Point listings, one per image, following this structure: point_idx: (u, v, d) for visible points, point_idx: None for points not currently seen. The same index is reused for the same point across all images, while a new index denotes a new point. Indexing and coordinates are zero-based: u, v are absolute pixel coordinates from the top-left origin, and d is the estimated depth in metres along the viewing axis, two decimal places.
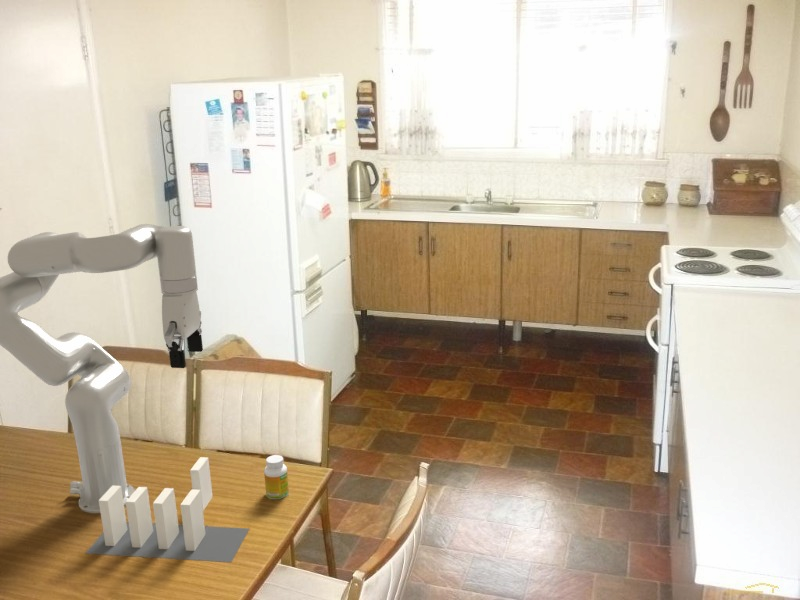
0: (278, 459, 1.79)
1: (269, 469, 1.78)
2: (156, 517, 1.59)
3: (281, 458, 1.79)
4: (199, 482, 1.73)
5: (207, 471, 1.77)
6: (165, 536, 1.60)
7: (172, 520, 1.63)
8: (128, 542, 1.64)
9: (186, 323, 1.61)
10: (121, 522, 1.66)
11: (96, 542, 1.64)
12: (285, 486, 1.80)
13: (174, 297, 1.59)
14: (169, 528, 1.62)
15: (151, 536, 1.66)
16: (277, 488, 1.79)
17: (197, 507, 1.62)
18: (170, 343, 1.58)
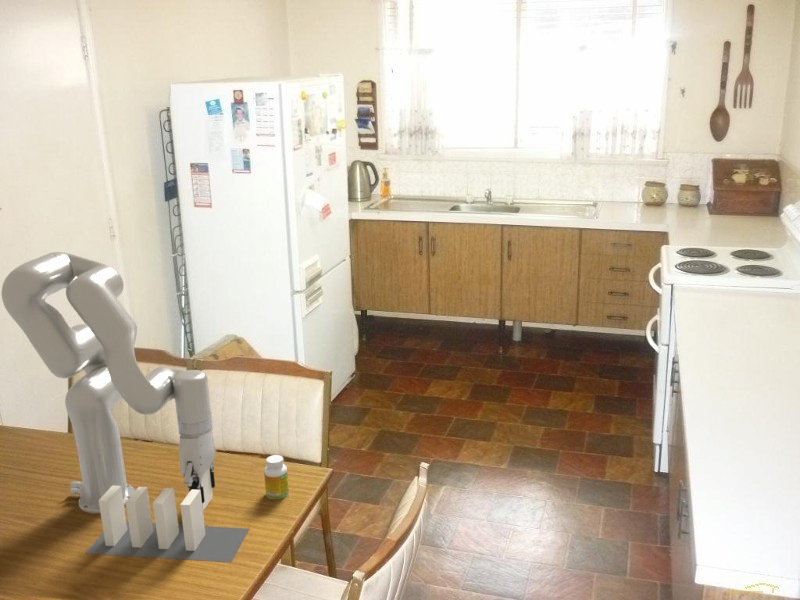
0: (278, 459, 1.79)
1: (269, 469, 1.78)
2: (156, 517, 1.59)
3: (281, 458, 1.79)
4: None
5: (207, 471, 1.77)
6: (165, 536, 1.60)
7: (172, 520, 1.63)
8: (128, 542, 1.64)
9: (202, 462, 1.71)
10: (121, 522, 1.66)
11: (96, 542, 1.64)
12: (285, 486, 1.80)
13: (191, 439, 1.69)
14: (169, 528, 1.62)
15: (151, 536, 1.66)
16: (277, 488, 1.79)
17: (197, 507, 1.62)
18: (190, 485, 1.69)
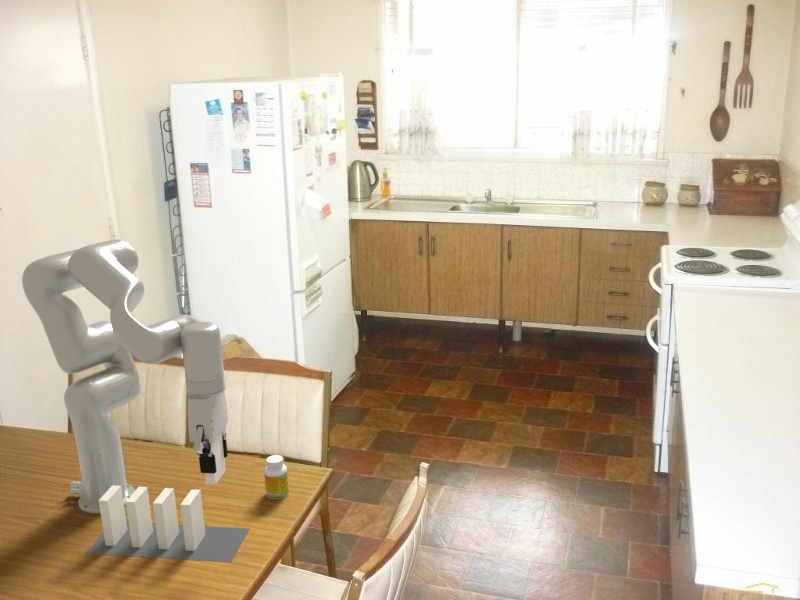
0: (278, 459, 1.79)
1: (269, 469, 1.78)
2: (156, 517, 1.59)
3: (281, 458, 1.79)
4: None
5: (219, 437, 1.57)
6: (165, 536, 1.60)
7: (172, 520, 1.63)
8: (128, 542, 1.64)
9: (214, 426, 1.51)
10: (121, 522, 1.66)
11: (96, 542, 1.64)
12: (285, 486, 1.80)
13: (201, 400, 1.48)
14: (169, 528, 1.62)
15: (151, 536, 1.66)
16: (277, 488, 1.79)
17: (197, 507, 1.62)
18: (201, 452, 1.49)
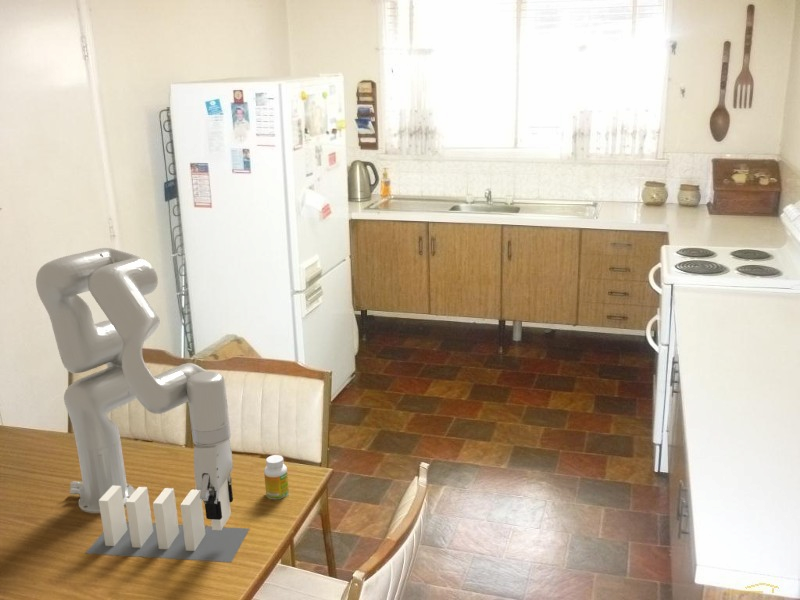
0: (278, 459, 1.79)
1: (269, 469, 1.78)
2: (156, 517, 1.59)
3: (281, 458, 1.79)
4: None
5: (224, 483, 1.60)
6: (165, 536, 1.60)
7: (172, 520, 1.63)
8: (128, 542, 1.64)
9: (219, 474, 1.54)
10: (121, 522, 1.66)
11: (96, 542, 1.64)
12: (285, 486, 1.80)
13: (207, 449, 1.51)
14: (169, 528, 1.62)
15: (151, 536, 1.66)
16: (277, 488, 1.79)
17: (197, 507, 1.62)
18: (206, 500, 1.52)
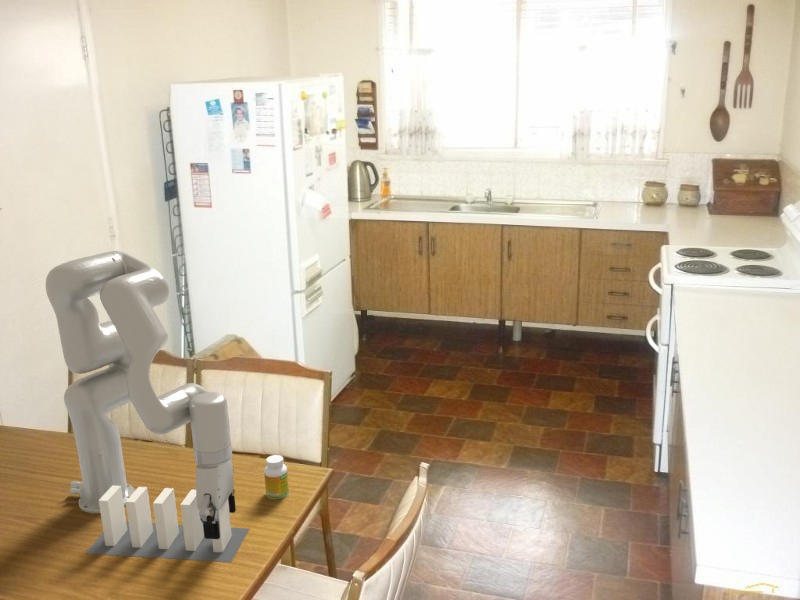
0: (278, 459, 1.79)
1: (269, 469, 1.78)
2: (156, 517, 1.59)
3: (281, 458, 1.79)
4: (218, 519, 1.58)
5: (226, 506, 1.62)
6: (165, 536, 1.60)
7: (172, 520, 1.63)
8: (128, 542, 1.64)
9: (221, 494, 1.55)
10: (121, 522, 1.66)
11: (96, 542, 1.64)
12: (285, 486, 1.80)
13: (209, 469, 1.53)
14: (169, 528, 1.62)
15: (151, 536, 1.66)
16: (277, 488, 1.79)
17: None
18: (205, 518, 1.52)
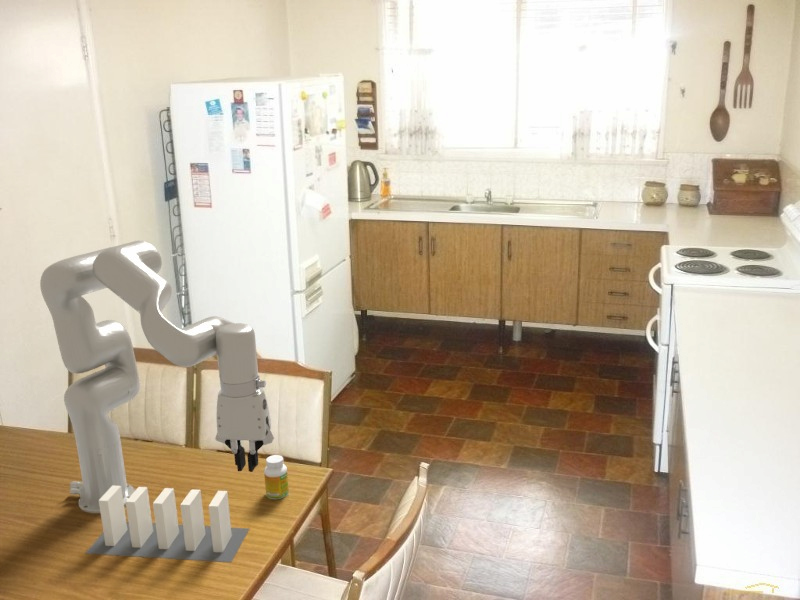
0: (278, 459, 1.79)
1: (269, 469, 1.78)
2: (156, 517, 1.59)
3: (281, 458, 1.79)
4: (218, 519, 1.58)
5: (226, 506, 1.62)
6: (165, 536, 1.60)
7: (172, 520, 1.63)
8: (128, 542, 1.64)
9: (222, 424, 1.52)
10: (121, 522, 1.66)
11: (96, 542, 1.64)
12: (285, 486, 1.80)
13: None
14: (169, 528, 1.62)
15: (151, 536, 1.66)
16: (277, 488, 1.79)
17: (197, 507, 1.62)
18: None
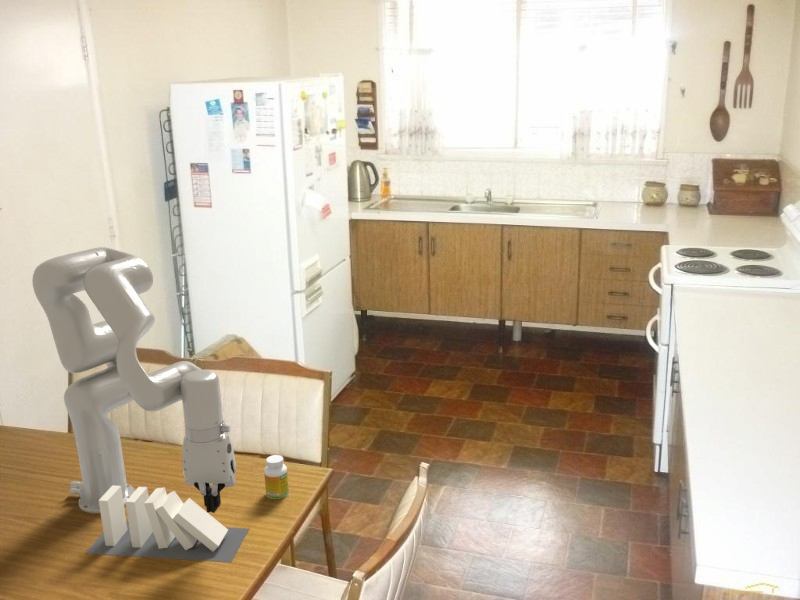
0: (278, 459, 1.79)
1: (269, 469, 1.78)
2: (150, 517, 1.59)
3: (281, 458, 1.79)
4: (189, 522, 1.59)
5: (196, 509, 1.63)
6: (162, 535, 1.60)
7: None
8: (128, 542, 1.64)
9: (188, 468, 1.56)
10: (121, 522, 1.66)
11: (96, 542, 1.64)
12: (285, 486, 1.80)
13: (184, 438, 1.56)
14: (165, 527, 1.62)
15: (151, 536, 1.66)
16: (277, 488, 1.79)
17: (178, 507, 1.62)
18: None
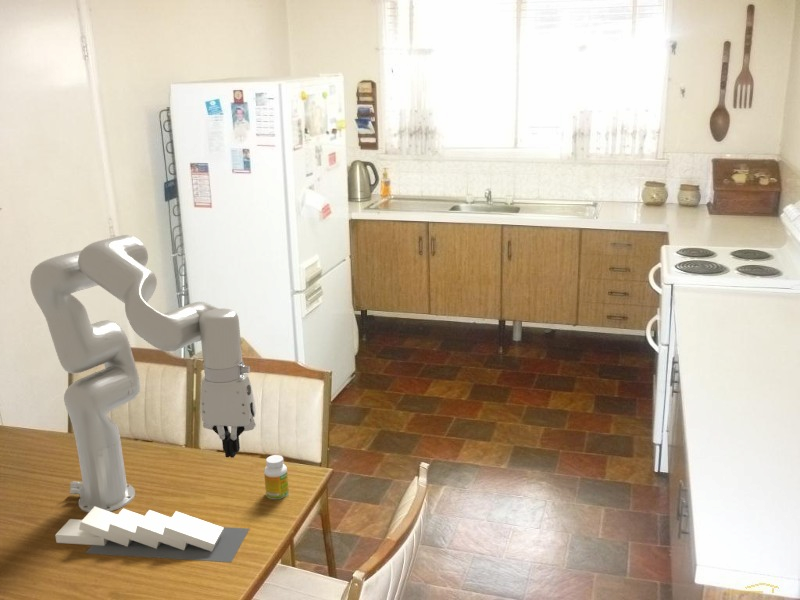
0: (278, 459, 1.79)
1: (269, 469, 1.78)
2: (123, 535, 1.62)
3: (281, 458, 1.79)
4: (178, 532, 1.60)
5: (185, 518, 1.64)
6: (144, 537, 1.61)
7: None
8: None
9: (207, 410, 1.51)
10: None
11: None
12: (285, 486, 1.80)
13: (202, 379, 1.51)
14: None
15: None
16: (277, 488, 1.79)
17: (157, 520, 1.64)
18: None
